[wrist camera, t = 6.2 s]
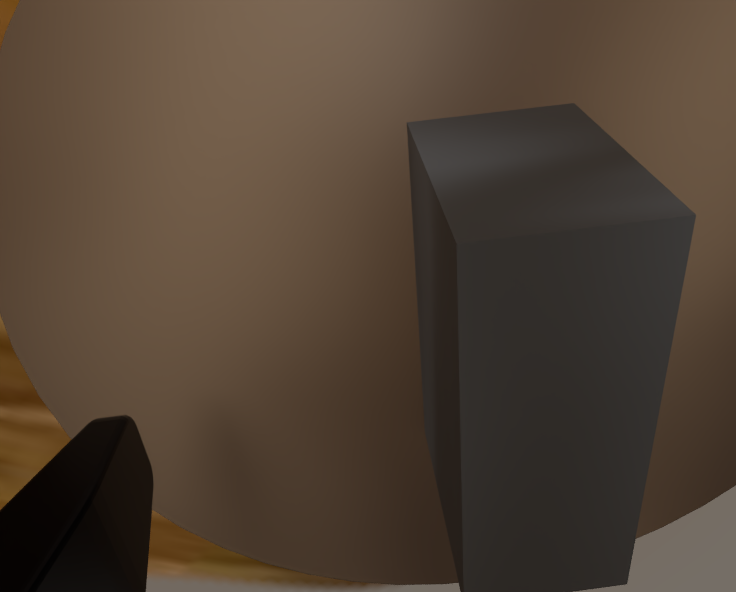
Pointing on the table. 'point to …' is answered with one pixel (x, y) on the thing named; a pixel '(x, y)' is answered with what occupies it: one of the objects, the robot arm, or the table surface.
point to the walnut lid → (385, 270)
